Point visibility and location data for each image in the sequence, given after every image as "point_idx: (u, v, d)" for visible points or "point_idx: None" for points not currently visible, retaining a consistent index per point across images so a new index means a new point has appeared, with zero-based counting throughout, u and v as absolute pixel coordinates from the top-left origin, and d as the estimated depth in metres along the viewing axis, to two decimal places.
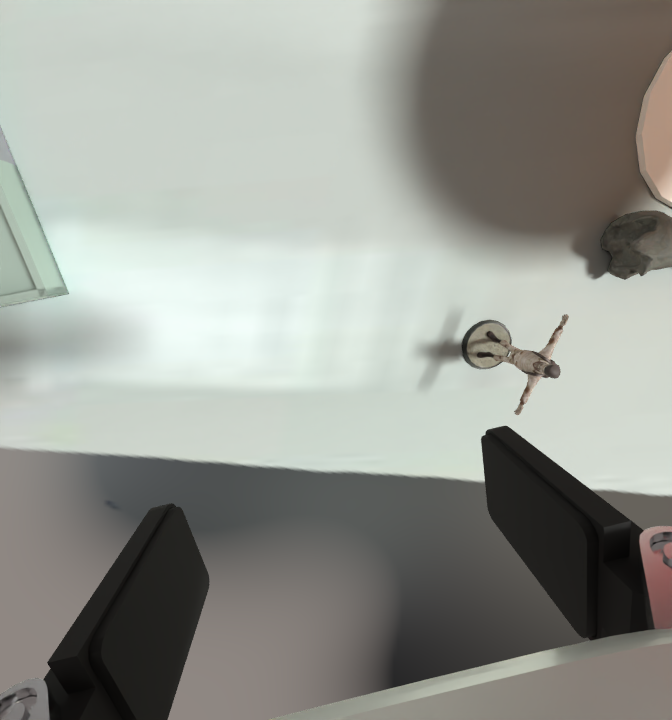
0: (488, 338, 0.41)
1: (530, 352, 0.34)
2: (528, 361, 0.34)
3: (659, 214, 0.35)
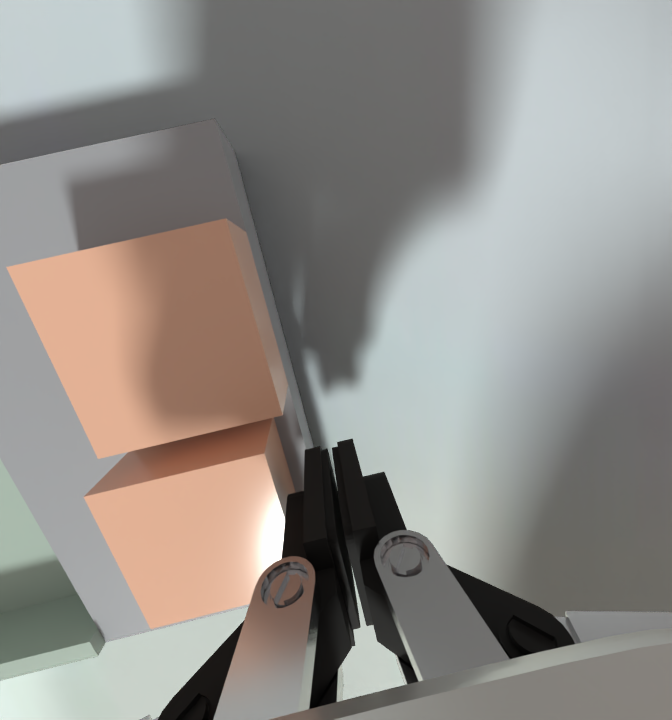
0: None
1: None
2: None
3: None
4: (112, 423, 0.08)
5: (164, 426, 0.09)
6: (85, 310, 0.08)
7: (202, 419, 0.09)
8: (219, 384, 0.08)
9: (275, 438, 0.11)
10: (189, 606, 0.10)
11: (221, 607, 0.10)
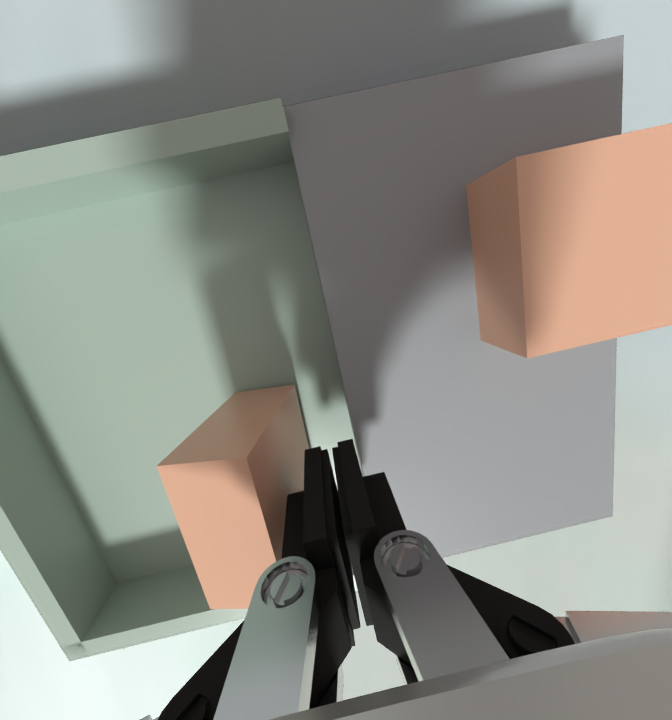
0: None
1: None
2: None
3: None
4: (551, 321, 0.09)
5: (594, 326, 0.09)
6: (568, 203, 0.08)
7: (629, 320, 0.09)
8: (656, 283, 0.09)
9: (225, 478, 0.08)
10: None
11: None
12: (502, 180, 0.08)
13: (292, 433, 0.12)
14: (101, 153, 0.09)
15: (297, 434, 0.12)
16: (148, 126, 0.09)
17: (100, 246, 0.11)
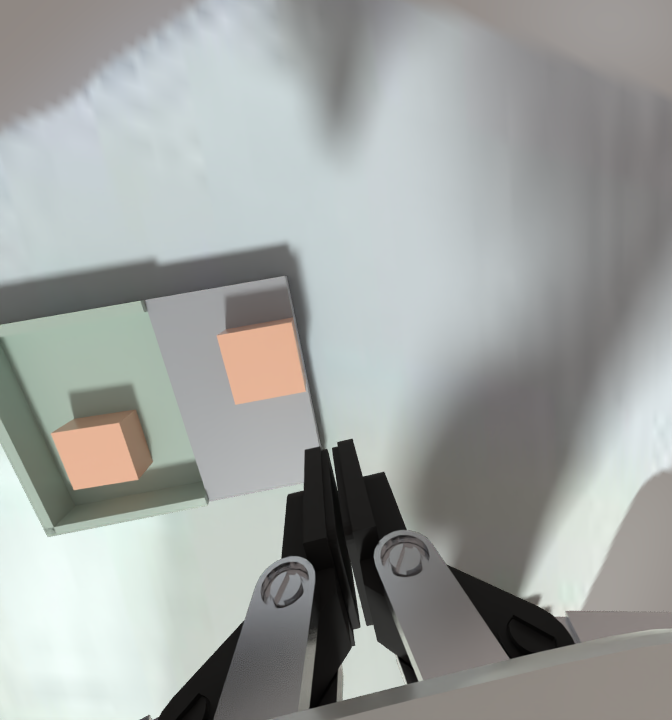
0: None
1: None
2: None
3: None
4: (242, 391, 0.22)
5: (261, 393, 0.23)
6: (240, 350, 0.22)
7: (275, 391, 0.23)
8: (283, 378, 0.22)
9: None
10: None
11: None
12: None
13: (104, 441, 0.25)
14: (69, 319, 0.22)
15: (112, 444, 0.25)
16: None
17: (70, 341, 0.25)
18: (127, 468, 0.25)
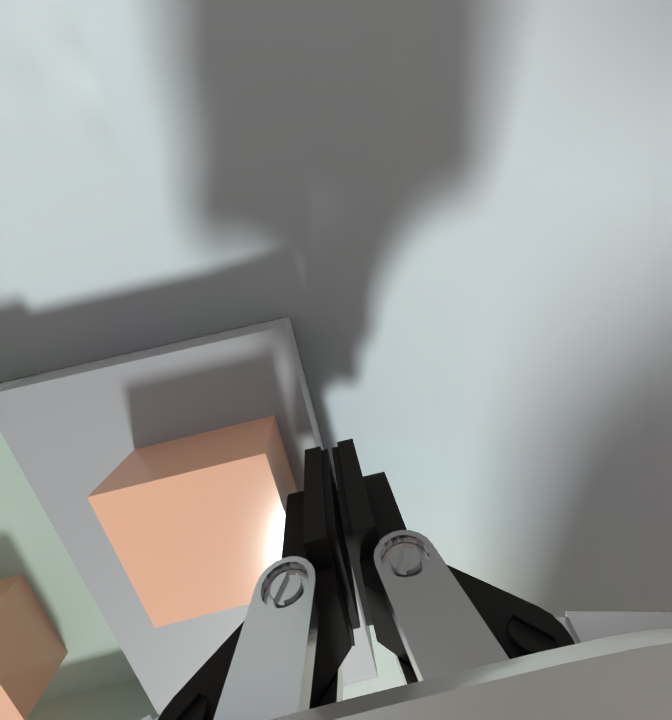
0: None
1: None
2: None
3: None
4: (167, 601, 0.10)
5: (210, 601, 0.10)
6: (149, 523, 0.09)
7: (242, 594, 0.10)
8: (257, 568, 0.10)
9: None
10: None
11: None
12: None
13: None
14: None
15: None
16: None
17: None
18: None
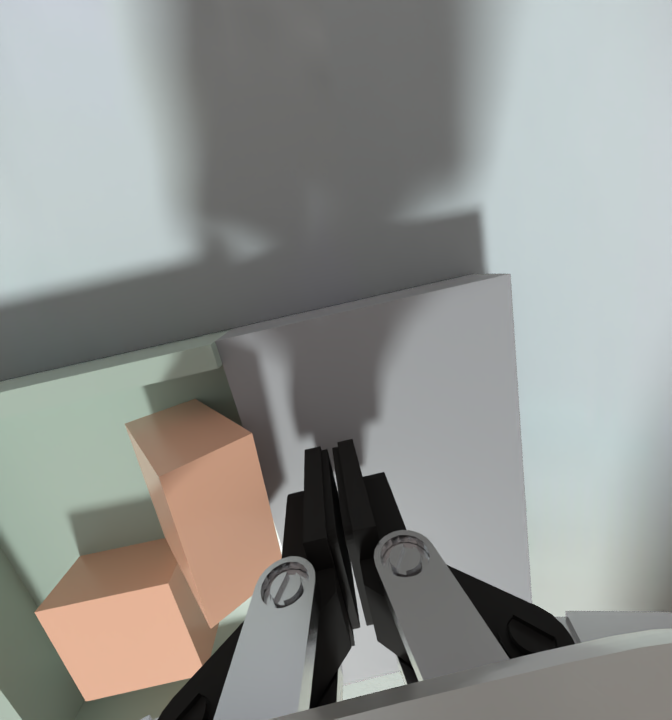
0: None
1: None
2: None
3: None
4: (163, 528, 0.12)
5: (175, 555, 0.11)
6: (142, 467, 0.11)
7: (184, 573, 0.11)
8: (184, 566, 0.10)
9: None
10: None
11: None
12: None
13: (140, 617, 0.13)
14: (57, 392, 0.10)
15: (155, 620, 0.13)
16: (97, 369, 0.10)
17: (66, 422, 0.13)
18: (184, 659, 0.13)
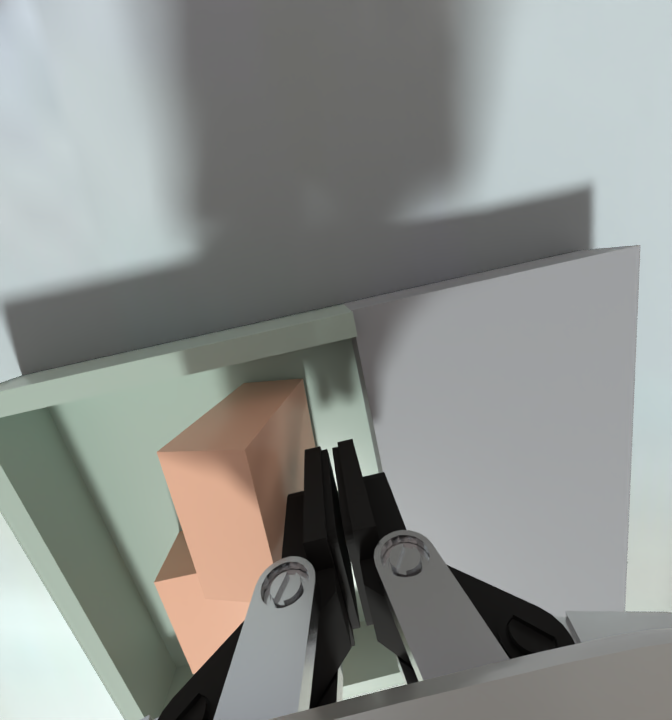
0: None
1: None
2: None
3: None
4: None
5: None
6: None
7: None
8: None
9: None
10: None
11: None
12: None
13: None
14: (201, 359, 0.10)
15: None
16: (241, 336, 0.10)
17: (178, 395, 0.13)
18: None
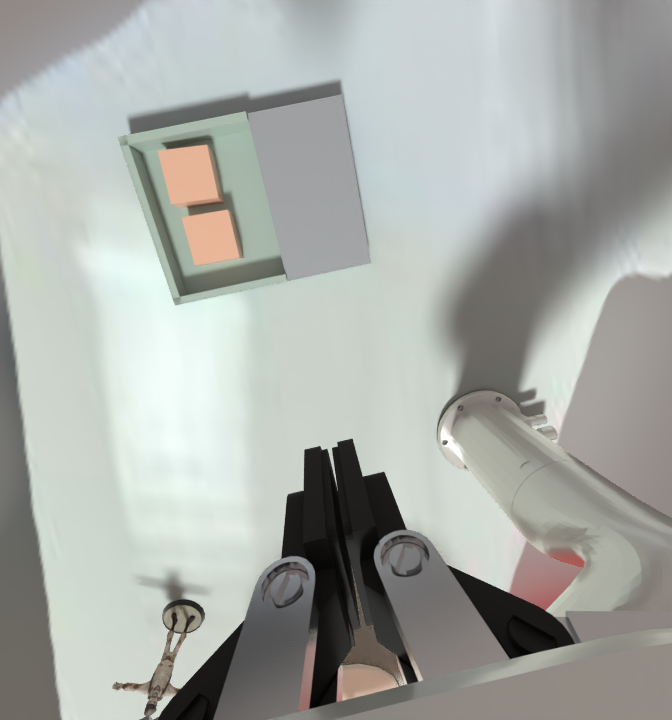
0: (188, 617, 0.52)
1: (170, 675, 0.45)
2: (161, 679, 0.44)
3: None
4: None
5: None
6: None
7: None
8: None
9: None
10: None
11: (224, 260, 0.38)
12: (213, 155, 0.35)
13: (217, 225, 0.35)
14: (198, 125, 0.33)
15: (222, 227, 0.35)
16: (210, 118, 0.33)
17: None
18: (232, 248, 0.36)
